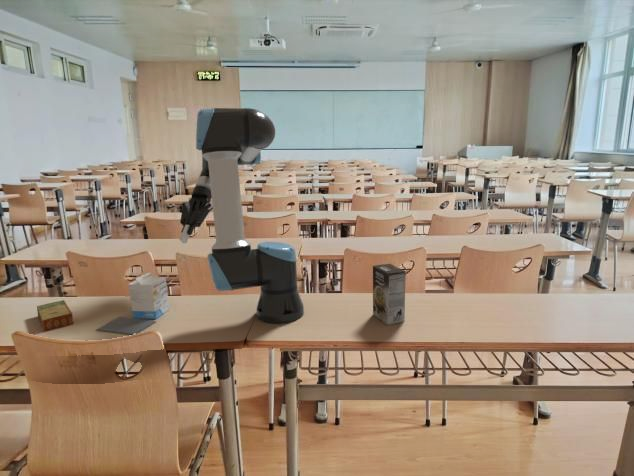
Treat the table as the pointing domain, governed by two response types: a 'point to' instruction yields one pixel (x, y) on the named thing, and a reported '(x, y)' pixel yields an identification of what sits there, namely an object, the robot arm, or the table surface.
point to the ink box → (149, 296)
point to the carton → (54, 315)
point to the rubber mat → (126, 325)
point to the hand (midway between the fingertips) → (182, 241)
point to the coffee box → (389, 293)
